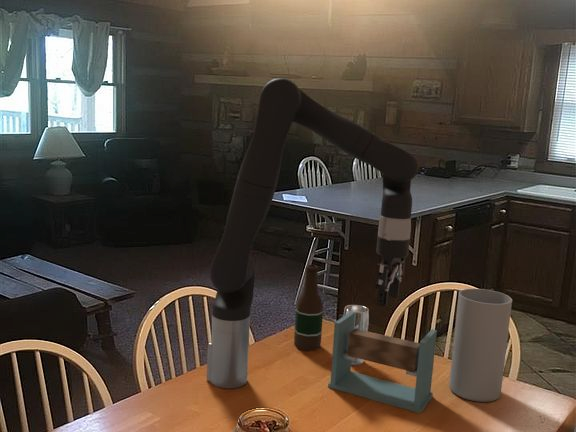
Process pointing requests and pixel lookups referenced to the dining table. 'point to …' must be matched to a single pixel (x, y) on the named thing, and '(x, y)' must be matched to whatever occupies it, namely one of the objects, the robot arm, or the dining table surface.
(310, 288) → the beer bottle
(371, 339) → the walnut plank
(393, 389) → the shelf stand
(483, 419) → the dining table surface
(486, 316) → the cylinder vase
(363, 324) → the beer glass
